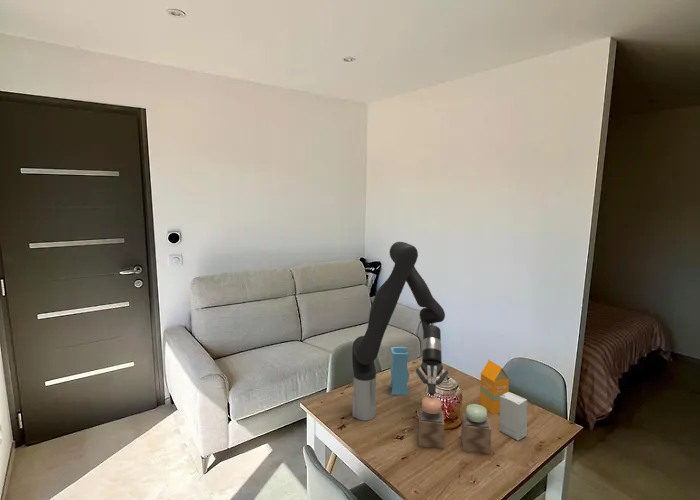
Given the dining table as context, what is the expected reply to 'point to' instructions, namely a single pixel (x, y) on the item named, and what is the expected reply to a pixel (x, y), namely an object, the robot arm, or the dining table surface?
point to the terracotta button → (431, 405)
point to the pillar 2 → (475, 435)
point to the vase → (399, 371)
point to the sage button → (476, 413)
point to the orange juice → (492, 386)
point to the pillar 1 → (431, 429)
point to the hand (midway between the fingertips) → (431, 394)
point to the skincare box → (513, 415)
